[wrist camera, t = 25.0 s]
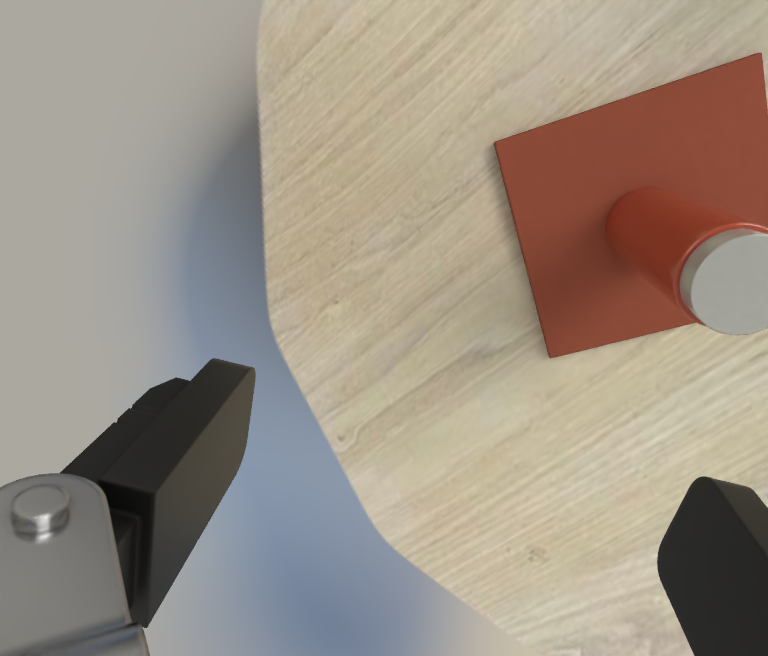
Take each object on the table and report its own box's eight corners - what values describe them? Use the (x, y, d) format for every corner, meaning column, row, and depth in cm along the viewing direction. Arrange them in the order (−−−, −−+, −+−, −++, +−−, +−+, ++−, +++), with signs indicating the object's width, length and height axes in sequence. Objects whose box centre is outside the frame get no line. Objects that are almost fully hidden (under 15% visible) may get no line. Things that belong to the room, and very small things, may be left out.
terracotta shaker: (594, 253, 33) (666, 326, 22) (620, 178, 32) (714, 216, 20) (667, 269, 33) (778, 351, 22) (697, 195, 31) (834, 243, 20)
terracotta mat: (548, 355, 37) (550, 358, 36) (493, 142, 32) (494, 142, 32) (782, 297, 34) (787, 300, 33) (756, 53, 29) (762, 52, 29)
